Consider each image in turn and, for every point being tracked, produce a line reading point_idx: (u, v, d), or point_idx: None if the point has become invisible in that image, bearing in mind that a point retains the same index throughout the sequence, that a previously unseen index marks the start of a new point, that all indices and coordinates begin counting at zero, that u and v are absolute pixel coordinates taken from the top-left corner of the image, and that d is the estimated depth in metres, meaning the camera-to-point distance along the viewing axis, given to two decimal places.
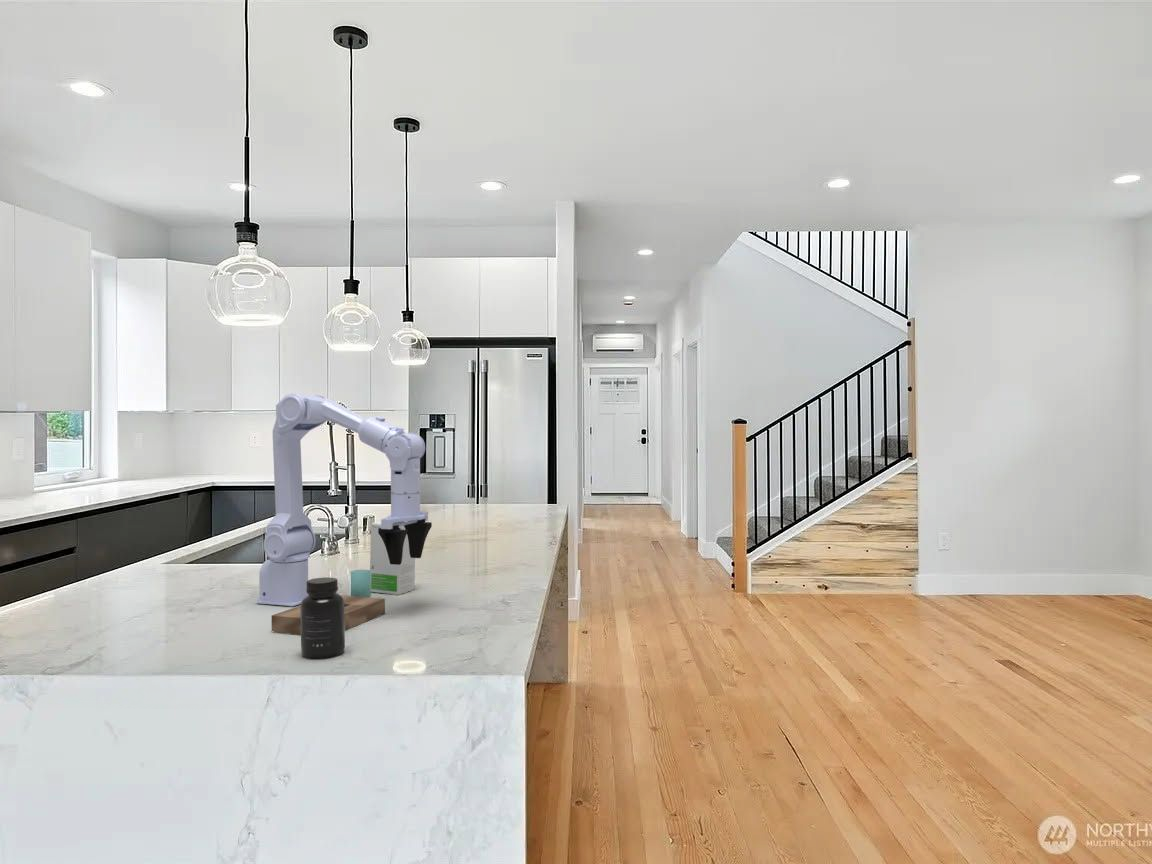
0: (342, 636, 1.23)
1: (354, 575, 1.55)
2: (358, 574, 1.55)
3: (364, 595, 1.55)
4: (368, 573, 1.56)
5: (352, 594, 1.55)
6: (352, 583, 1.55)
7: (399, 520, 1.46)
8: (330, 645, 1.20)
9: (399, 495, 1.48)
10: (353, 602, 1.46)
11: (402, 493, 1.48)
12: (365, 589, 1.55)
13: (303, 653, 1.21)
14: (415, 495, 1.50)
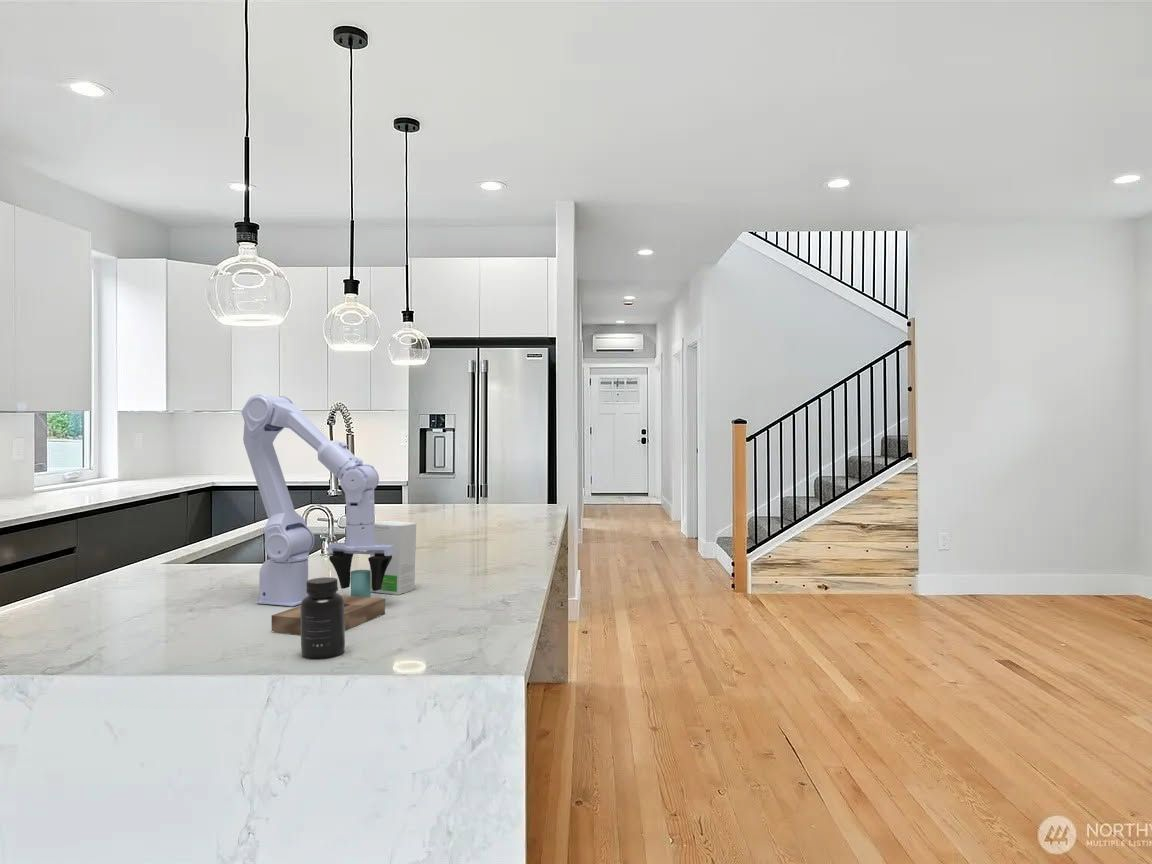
0: (342, 636, 1.23)
1: (354, 575, 1.55)
2: (358, 574, 1.55)
3: (364, 595, 1.55)
4: (368, 573, 1.56)
5: (352, 594, 1.55)
6: (352, 583, 1.55)
7: (336, 547, 1.57)
8: (330, 645, 1.20)
9: None
10: (353, 602, 1.46)
11: None
12: (365, 589, 1.55)
13: (303, 653, 1.21)
14: (349, 526, 1.55)
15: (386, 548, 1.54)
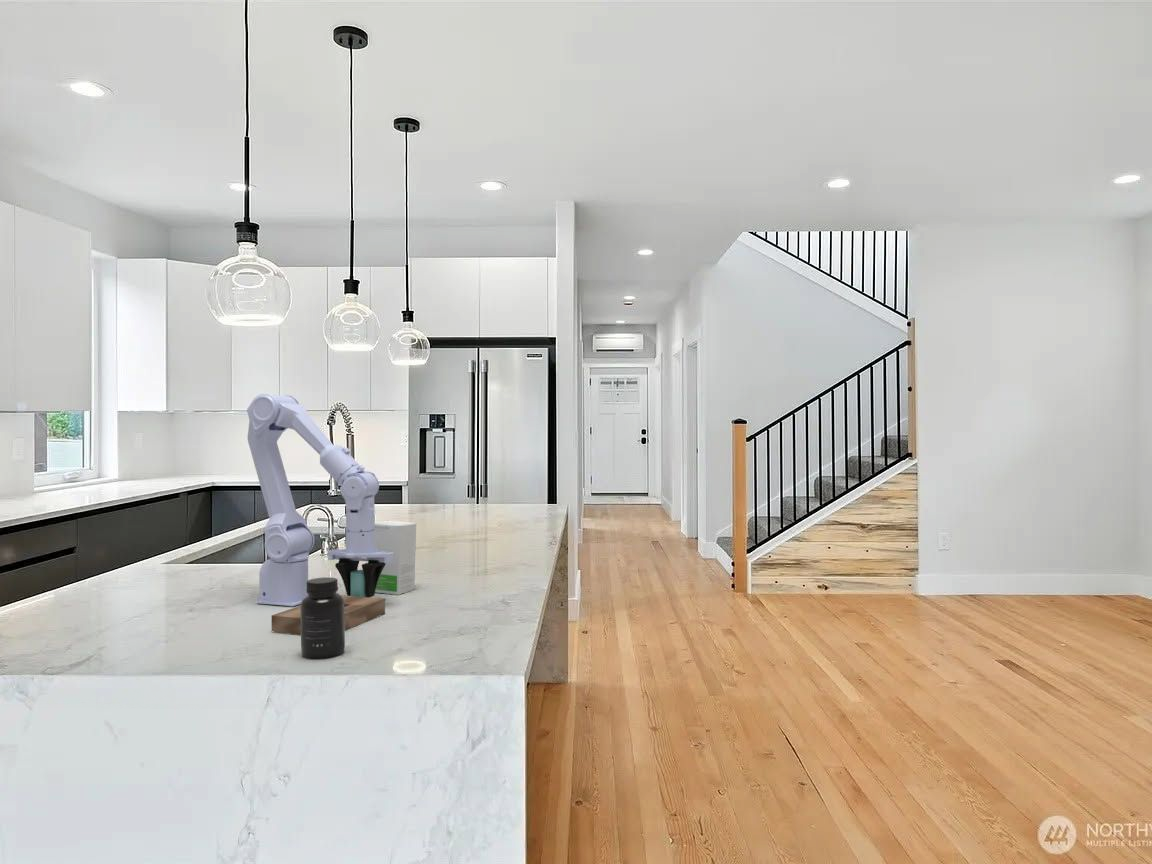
0: (342, 636, 1.23)
1: (354, 575, 1.55)
2: (358, 574, 1.55)
3: (364, 595, 1.55)
4: None
5: (352, 594, 1.55)
6: (353, 583, 1.55)
7: (336, 553, 1.57)
8: (330, 645, 1.20)
9: None
10: (353, 602, 1.46)
11: None
12: None
13: (303, 653, 1.21)
14: (349, 533, 1.55)
15: (386, 555, 1.54)
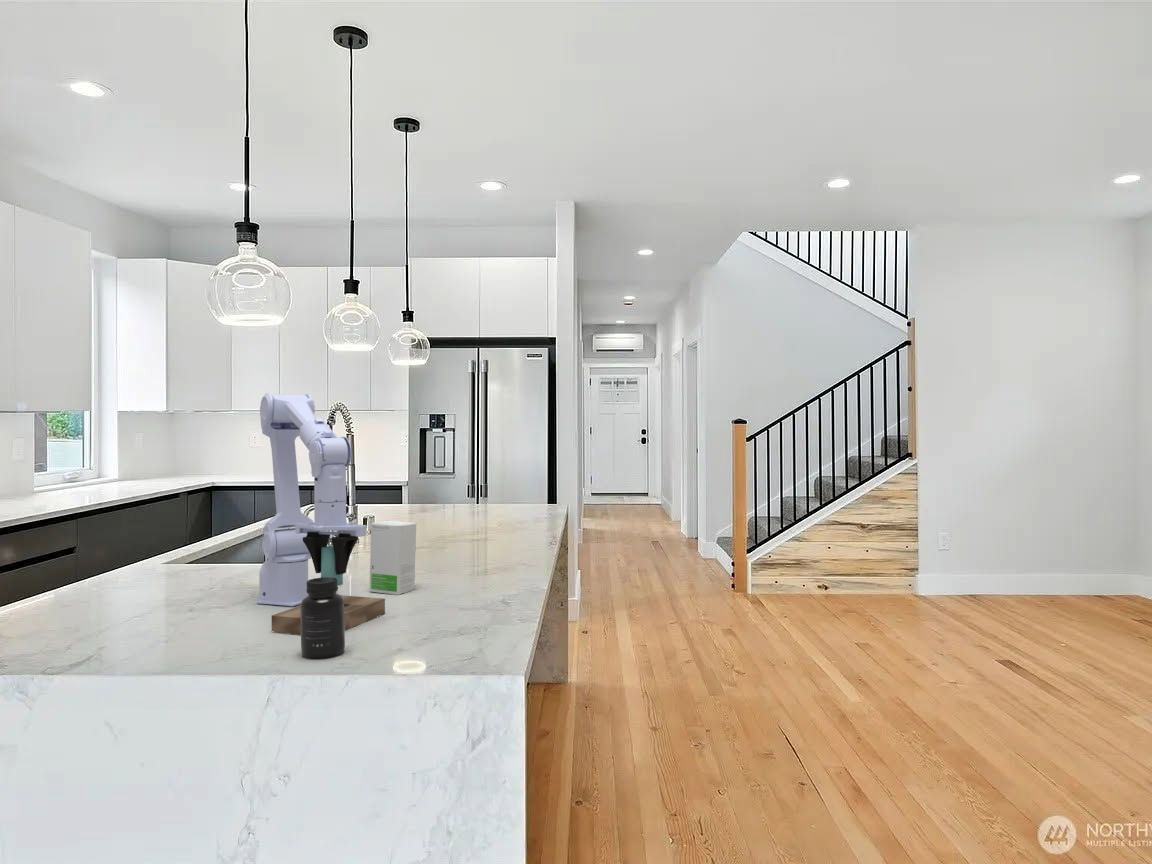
0: (342, 636, 1.23)
1: (326, 551, 1.41)
2: (330, 549, 1.41)
3: None
4: None
5: (323, 571, 1.41)
6: (324, 559, 1.41)
7: (304, 526, 1.43)
8: (330, 645, 1.20)
9: None
10: (353, 602, 1.46)
11: None
12: None
13: (303, 653, 1.21)
14: (317, 504, 1.40)
15: (358, 528, 1.40)
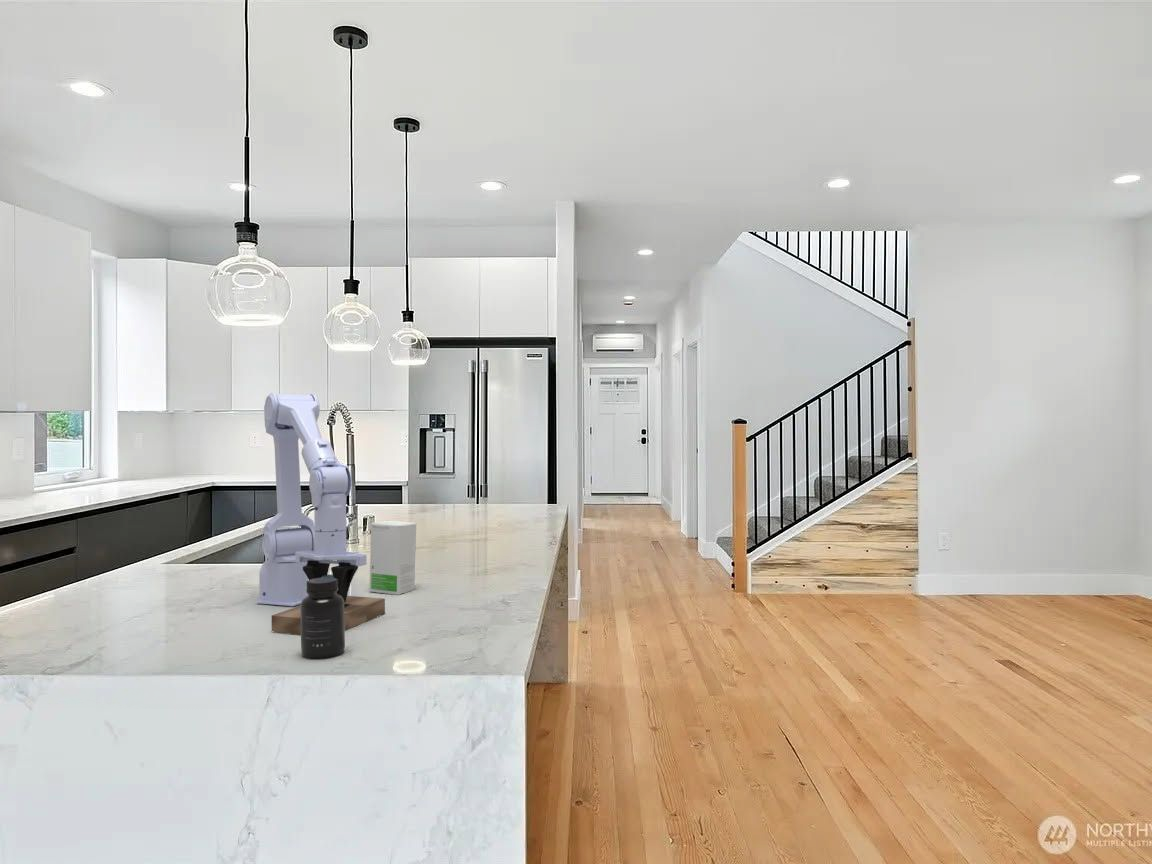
0: (342, 636, 1.23)
1: None
2: None
3: None
4: None
5: None
6: None
7: (304, 555, 1.43)
8: (330, 645, 1.20)
9: None
10: (353, 602, 1.46)
11: None
12: None
13: (303, 653, 1.21)
14: (317, 533, 1.40)
15: (358, 557, 1.40)
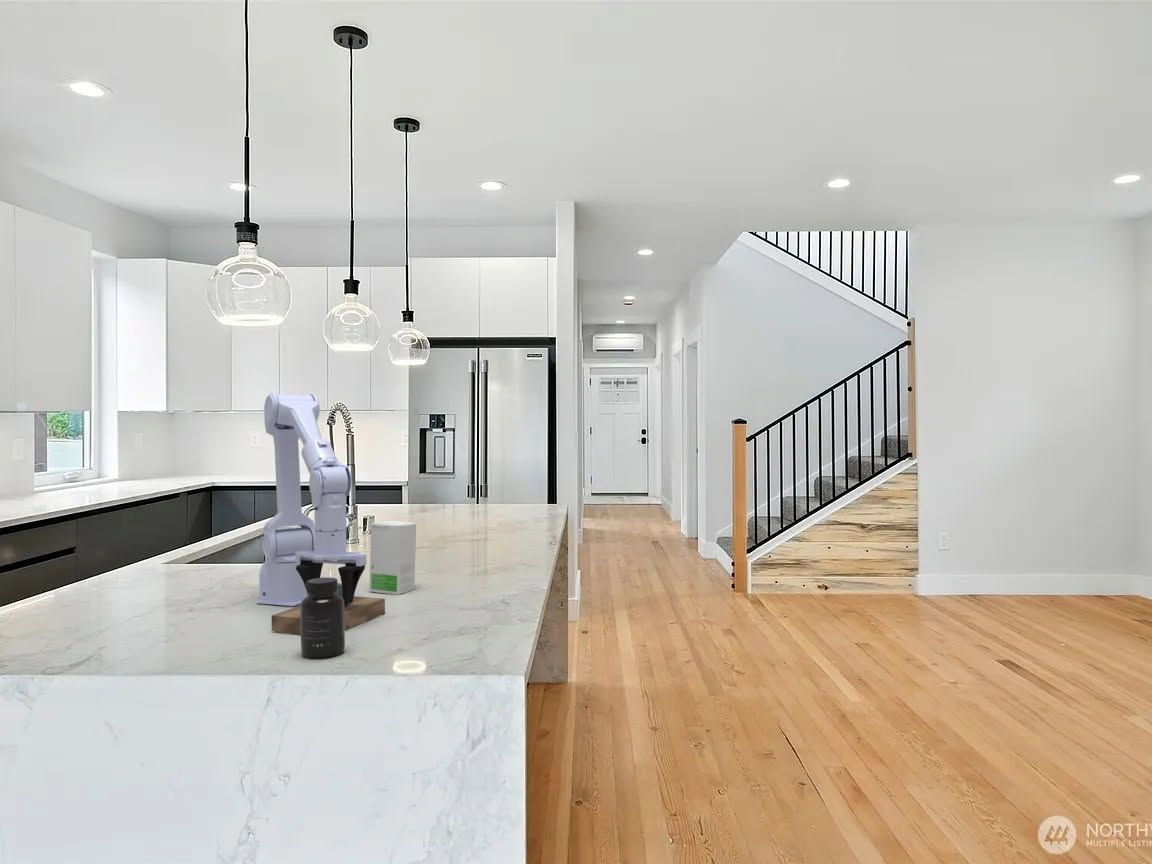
0: (342, 636, 1.23)
1: None
2: None
3: None
4: (340, 587, 1.42)
5: None
6: None
7: (304, 555, 1.43)
8: (330, 645, 1.20)
9: None
10: (353, 602, 1.46)
11: None
12: None
13: (303, 653, 1.21)
14: (317, 533, 1.40)
15: (358, 557, 1.40)
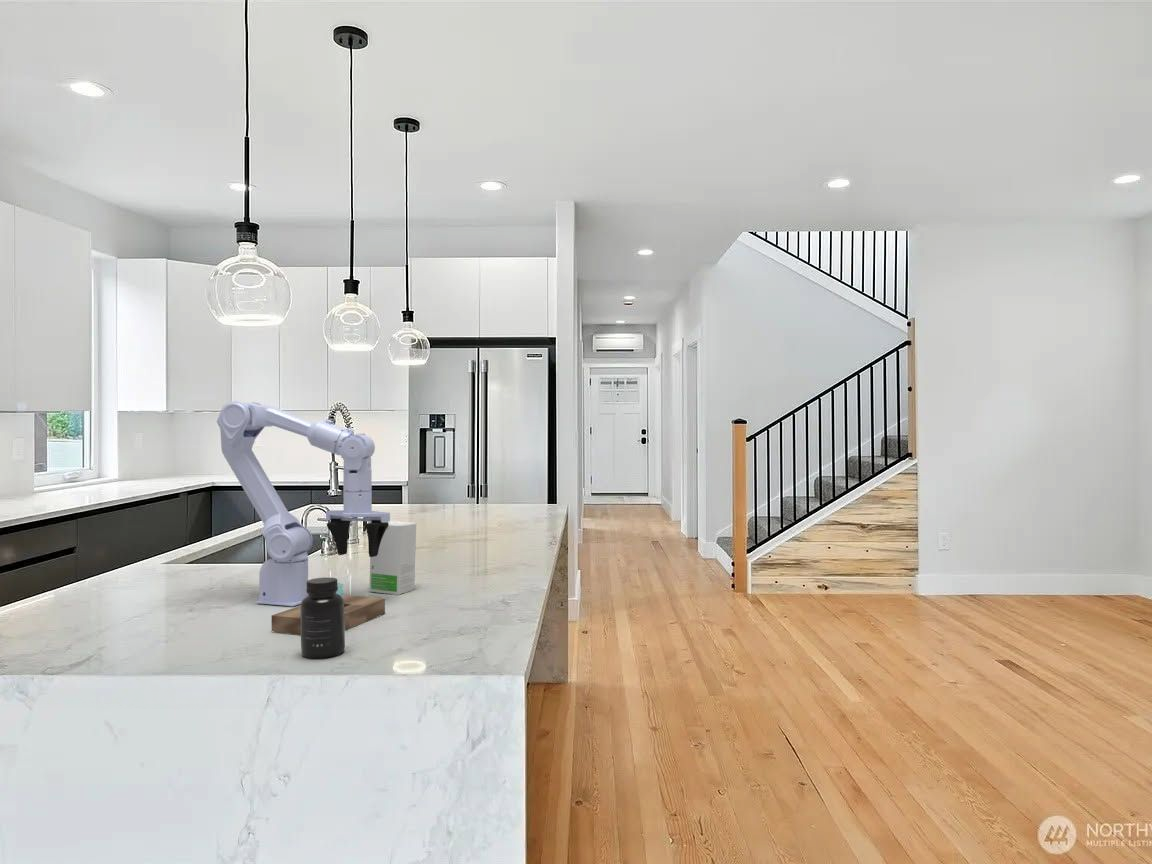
0: (342, 636, 1.23)
1: None
2: None
3: None
4: (340, 587, 1.42)
5: None
6: None
7: (334, 514, 1.59)
8: (330, 645, 1.20)
9: None
10: (353, 602, 1.46)
11: None
12: None
13: (303, 653, 1.21)
14: (346, 493, 1.57)
15: (383, 515, 1.56)
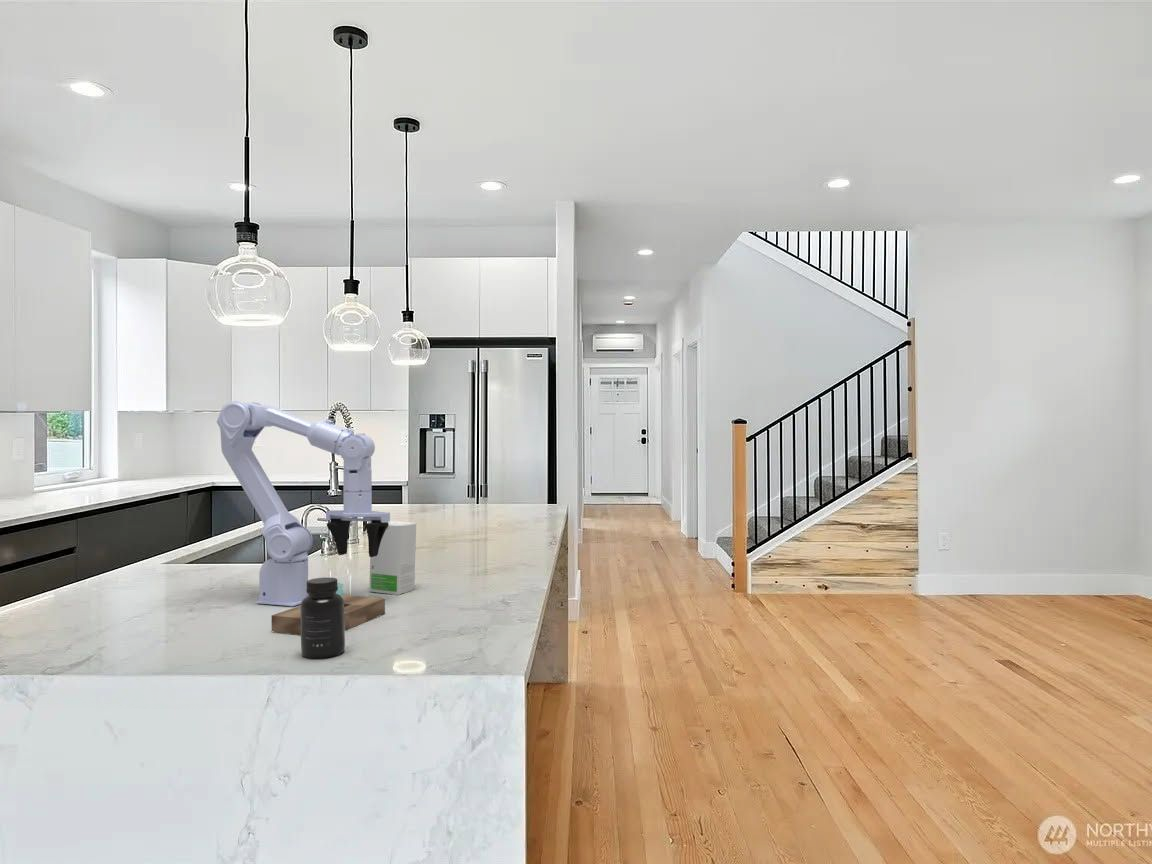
0: (342, 636, 1.23)
1: None
2: None
3: None
4: (340, 587, 1.42)
5: None
6: None
7: (334, 514, 1.59)
8: (330, 645, 1.20)
9: None
10: (353, 602, 1.46)
11: None
12: None
13: (303, 653, 1.21)
14: (346, 493, 1.57)
15: (383, 515, 1.56)
